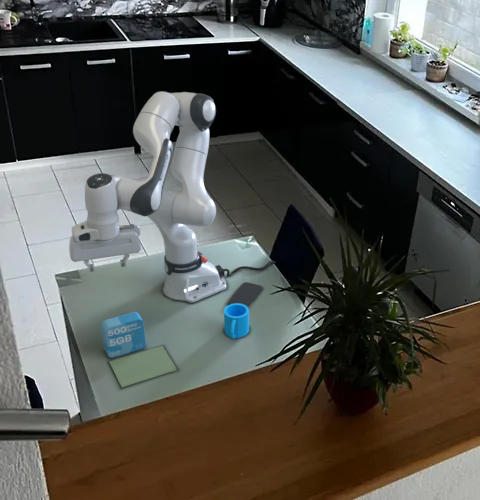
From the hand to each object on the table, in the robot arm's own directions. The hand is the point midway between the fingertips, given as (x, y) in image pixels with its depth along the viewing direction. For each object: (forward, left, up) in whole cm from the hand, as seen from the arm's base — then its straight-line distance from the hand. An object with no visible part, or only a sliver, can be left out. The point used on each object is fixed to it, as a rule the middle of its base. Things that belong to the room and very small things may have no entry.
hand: (107, 268), depth 212 cm
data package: (-1, +7, -27) cm, 28 cm away
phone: (-47, -3, -27) cm, 54 cm away
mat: (-3, +17, -27) cm, 32 cm away
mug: (-35, +15, -27) cm, 47 cm away
